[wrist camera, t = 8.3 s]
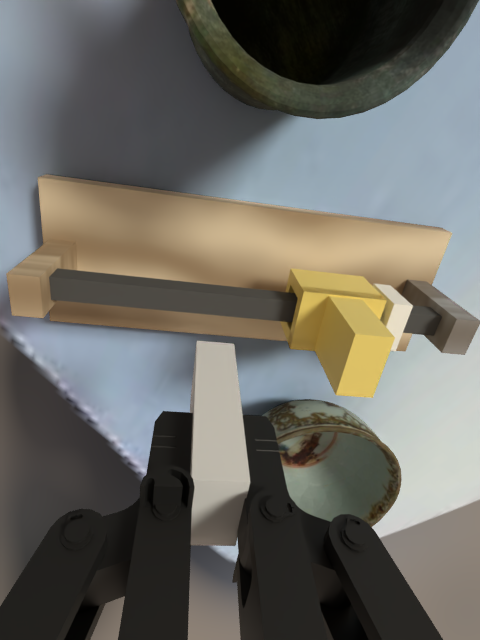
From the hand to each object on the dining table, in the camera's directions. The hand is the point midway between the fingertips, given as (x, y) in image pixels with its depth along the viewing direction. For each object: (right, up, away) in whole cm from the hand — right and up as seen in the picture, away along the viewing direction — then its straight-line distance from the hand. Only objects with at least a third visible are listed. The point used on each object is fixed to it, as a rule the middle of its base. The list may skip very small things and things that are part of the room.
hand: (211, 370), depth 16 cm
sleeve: (+7, +3, +10) cm, 13 cm away
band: (+10, +3, +11) cm, 15 cm away
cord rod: (+2, +3, +9) cm, 10 cm away
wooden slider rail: (+2, +6, +13) cm, 15 cm away
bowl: (+6, -8, +21) cm, 24 cm away
